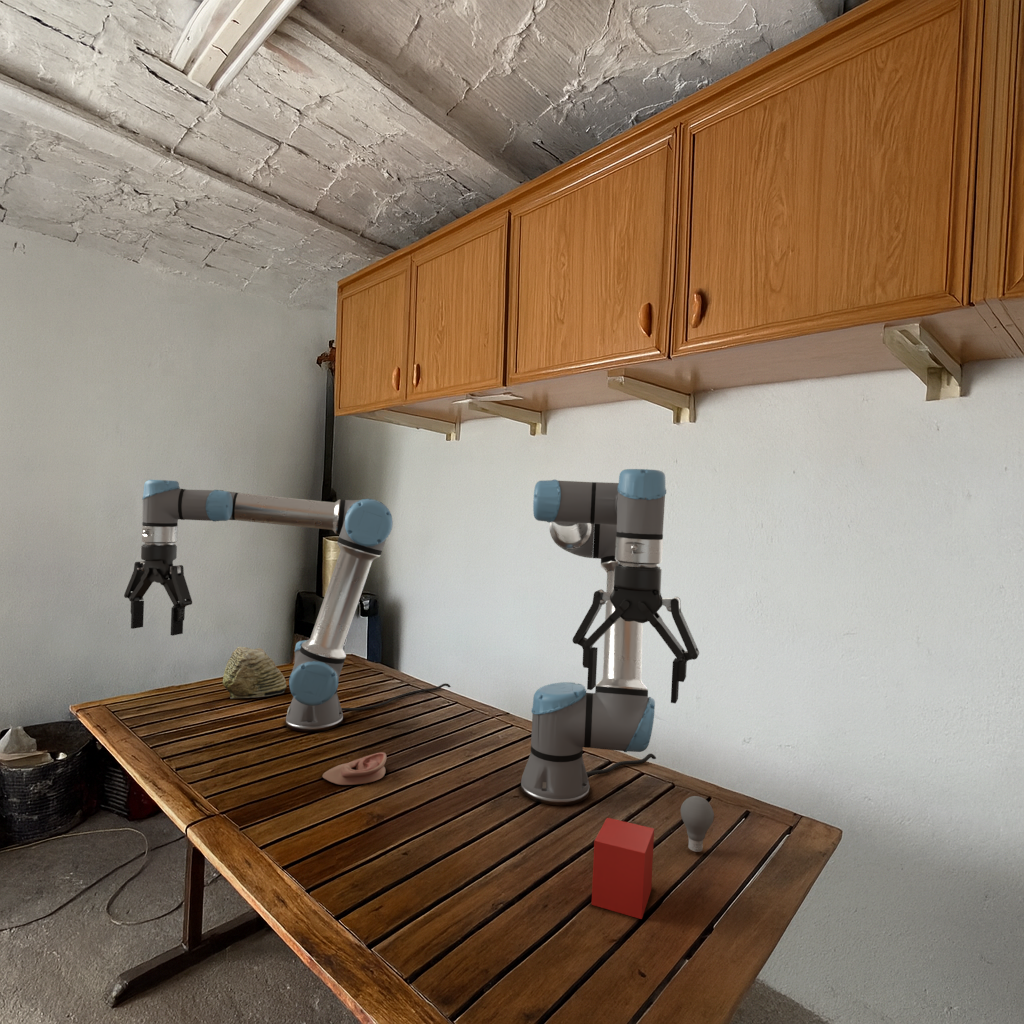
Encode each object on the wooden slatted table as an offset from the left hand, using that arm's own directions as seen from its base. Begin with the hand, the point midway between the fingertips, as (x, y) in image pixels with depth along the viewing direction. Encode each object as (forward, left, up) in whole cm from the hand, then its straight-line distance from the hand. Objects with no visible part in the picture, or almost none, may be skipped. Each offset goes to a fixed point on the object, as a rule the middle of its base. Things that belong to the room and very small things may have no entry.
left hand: (156, 631), depth 153 cm
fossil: (-39, -22, -29) cm, 53 cm away
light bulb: (-49, +117, -29) cm, 130 cm away
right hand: (-27, +114, +5) cm, 117 cm away
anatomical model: (-25, +46, -29) cm, 60 cm away
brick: (-27, +114, -29) cm, 120 cm away
